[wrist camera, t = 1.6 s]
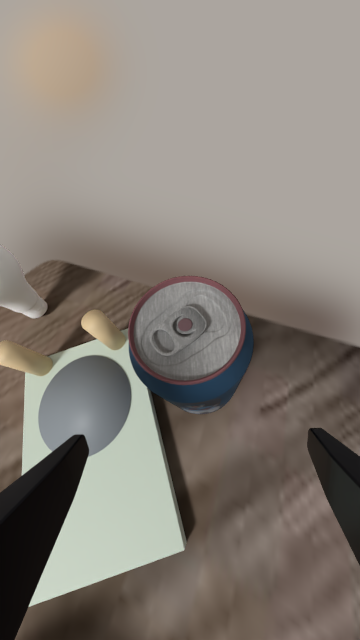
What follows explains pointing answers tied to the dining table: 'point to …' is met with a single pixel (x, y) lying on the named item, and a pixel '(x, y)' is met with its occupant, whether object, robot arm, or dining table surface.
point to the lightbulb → (17, 288)
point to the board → (99, 458)
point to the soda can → (190, 343)
